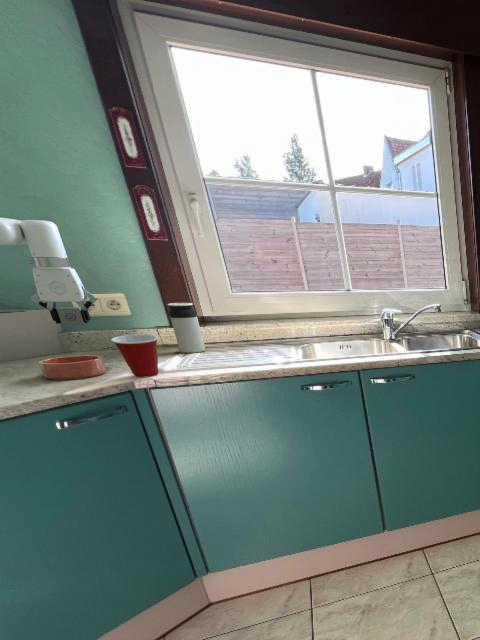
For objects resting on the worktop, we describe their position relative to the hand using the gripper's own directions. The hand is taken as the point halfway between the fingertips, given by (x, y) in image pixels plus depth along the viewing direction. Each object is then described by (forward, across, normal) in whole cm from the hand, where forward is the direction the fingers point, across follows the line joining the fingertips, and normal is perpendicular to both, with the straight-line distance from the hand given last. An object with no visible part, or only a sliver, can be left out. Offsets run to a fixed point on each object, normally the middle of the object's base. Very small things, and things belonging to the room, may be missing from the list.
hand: (73, 322), depth 159 cm
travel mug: (+14, +26, +19) cm, 35 cm away
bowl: (+14, +1, -16) cm, 21 cm away
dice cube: (+1, 0, 0) cm, 1 cm away
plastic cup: (+14, +19, -23) cm, 33 cm away
